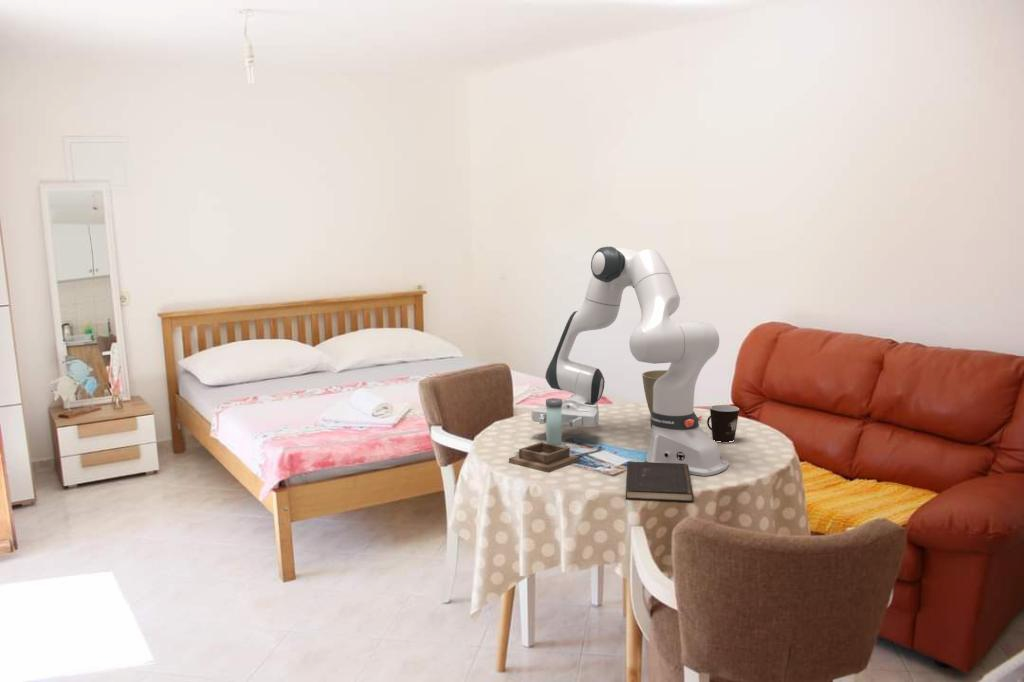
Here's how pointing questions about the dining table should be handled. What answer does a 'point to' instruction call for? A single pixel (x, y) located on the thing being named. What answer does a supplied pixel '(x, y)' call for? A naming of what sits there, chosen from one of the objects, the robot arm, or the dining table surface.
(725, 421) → the coffee mug
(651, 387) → the plant pot
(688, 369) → the robot arm
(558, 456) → the walnut rack
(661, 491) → the hardcover book
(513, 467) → the dining table surface
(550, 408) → the capped tube
